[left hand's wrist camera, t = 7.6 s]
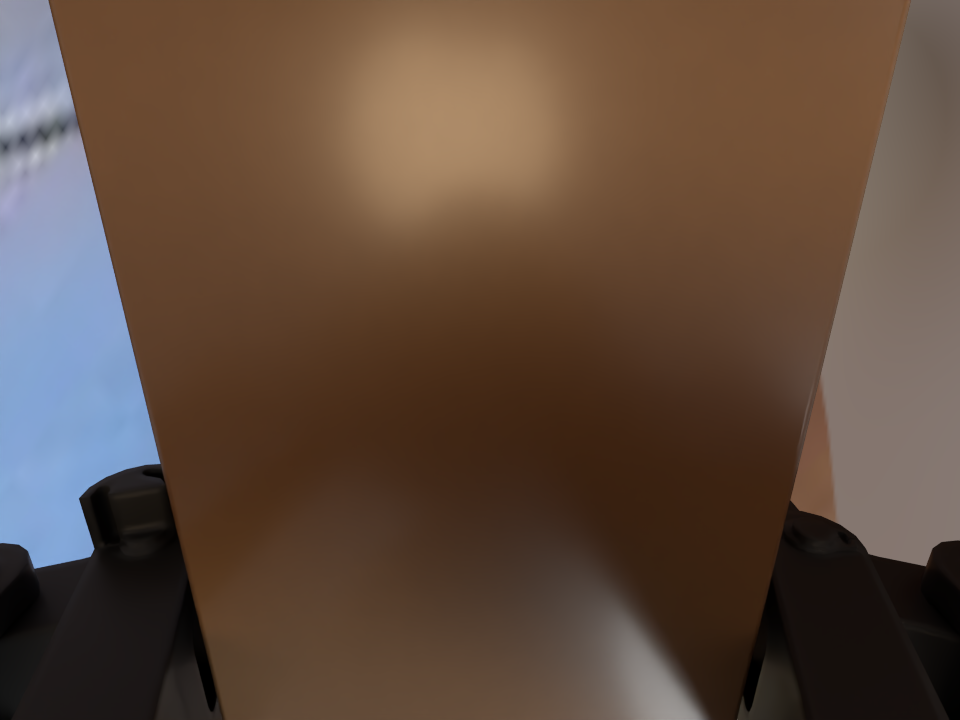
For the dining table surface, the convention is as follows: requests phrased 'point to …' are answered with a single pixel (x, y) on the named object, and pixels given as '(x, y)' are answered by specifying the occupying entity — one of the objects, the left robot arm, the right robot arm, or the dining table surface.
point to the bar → (479, 329)
